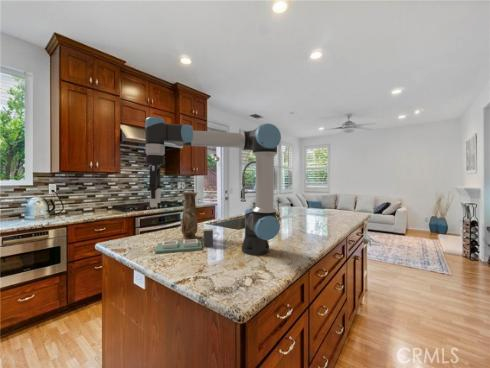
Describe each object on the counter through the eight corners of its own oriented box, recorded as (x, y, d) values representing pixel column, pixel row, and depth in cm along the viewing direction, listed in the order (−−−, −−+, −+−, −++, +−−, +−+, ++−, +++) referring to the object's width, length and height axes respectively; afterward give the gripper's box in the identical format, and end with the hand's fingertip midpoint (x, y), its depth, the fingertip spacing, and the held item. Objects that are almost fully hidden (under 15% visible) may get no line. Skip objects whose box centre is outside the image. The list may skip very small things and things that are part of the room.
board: (200, 242, 139) (200, 237, 139) (202, 249, 126) (202, 244, 126) (158, 245, 133) (158, 239, 133) (155, 253, 120) (155, 247, 119)
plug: (212, 244, 136) (212, 228, 136) (212, 246, 132) (212, 230, 132) (203, 244, 135) (203, 228, 134) (204, 246, 131) (204, 230, 131)
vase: (187, 234, 157) (187, 191, 156) (200, 236, 153) (200, 191, 152) (177, 238, 147) (177, 192, 146) (192, 240, 144) (192, 192, 142)
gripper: (149, 156, 109) (150, 201, 110) (140, 151, 85) (140, 209, 86) (166, 157, 111) (166, 201, 112) (161, 152, 87) (162, 208, 88)
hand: (155, 204), depth 99 cm, fingers open, 13 cm apart
